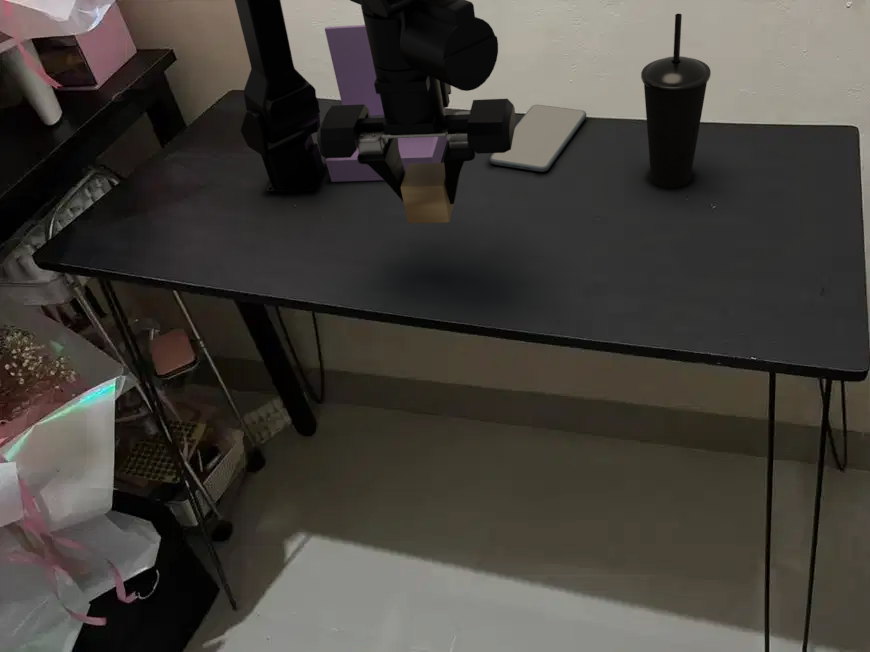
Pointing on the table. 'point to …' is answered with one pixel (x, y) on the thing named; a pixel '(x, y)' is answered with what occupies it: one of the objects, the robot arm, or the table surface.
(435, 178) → the block
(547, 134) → the smartphone
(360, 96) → the purple hinged lid
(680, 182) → the drinking cup
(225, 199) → the table surface
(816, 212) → the table surface
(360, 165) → the purple box
